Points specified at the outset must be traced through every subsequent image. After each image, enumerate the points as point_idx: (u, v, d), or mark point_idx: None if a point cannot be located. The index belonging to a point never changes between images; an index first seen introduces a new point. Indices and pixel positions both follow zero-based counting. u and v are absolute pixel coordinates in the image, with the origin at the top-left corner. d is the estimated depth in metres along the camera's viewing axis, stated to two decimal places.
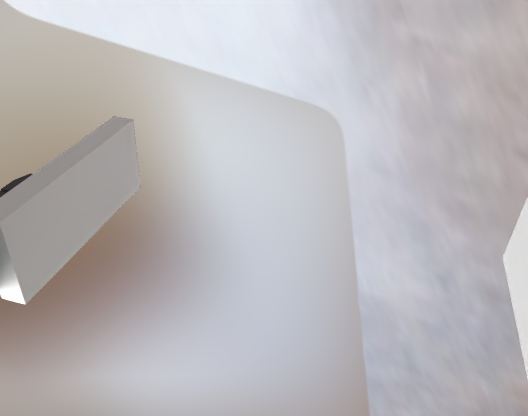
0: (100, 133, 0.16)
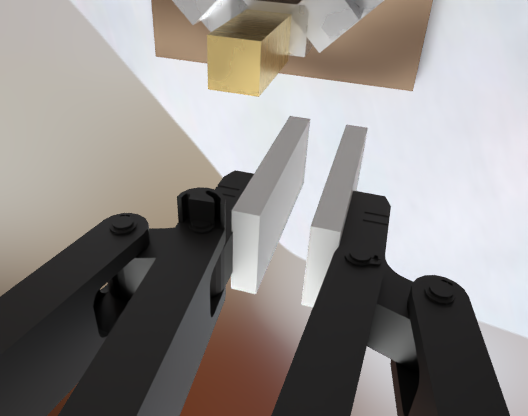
0: (290, 132, 0.16)
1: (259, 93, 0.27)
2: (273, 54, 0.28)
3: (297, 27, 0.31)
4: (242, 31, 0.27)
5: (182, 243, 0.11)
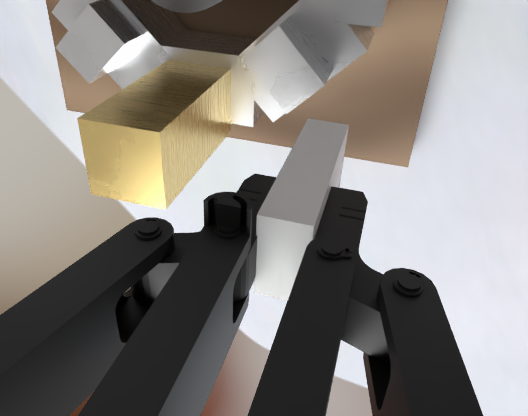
0: (309, 135, 0.16)
1: (167, 204, 0.17)
2: (195, 137, 0.19)
3: (240, 87, 0.22)
4: (139, 108, 0.17)
5: (207, 247, 0.11)
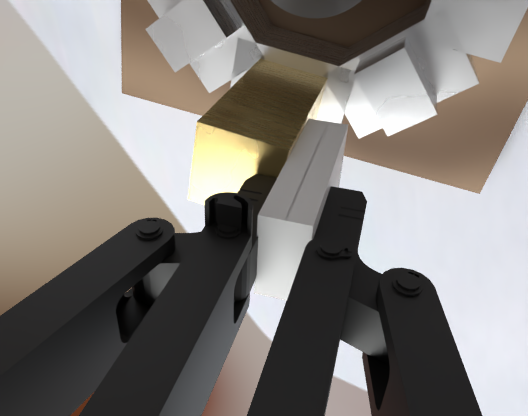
0: (310, 135, 0.16)
1: None
2: None
3: (333, 98, 0.21)
4: (256, 117, 0.16)
5: (208, 248, 0.11)
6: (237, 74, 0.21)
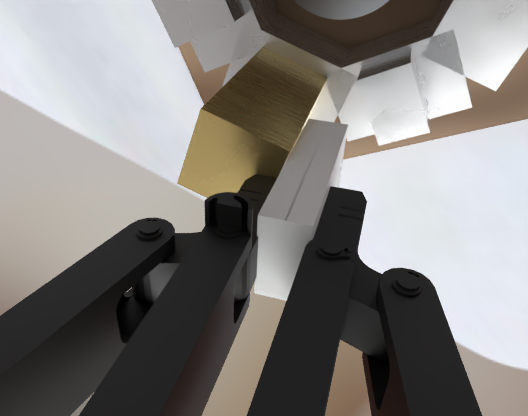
0: (309, 135, 0.16)
1: None
2: None
3: (329, 98, 0.21)
4: (259, 111, 0.16)
5: (208, 248, 0.11)
6: (237, 58, 0.21)
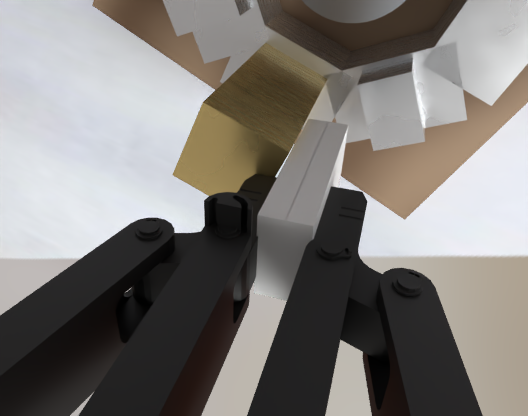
0: (309, 135, 0.16)
1: None
2: None
3: (327, 99, 0.21)
4: (260, 109, 0.16)
5: (207, 248, 0.11)
6: (238, 52, 0.21)
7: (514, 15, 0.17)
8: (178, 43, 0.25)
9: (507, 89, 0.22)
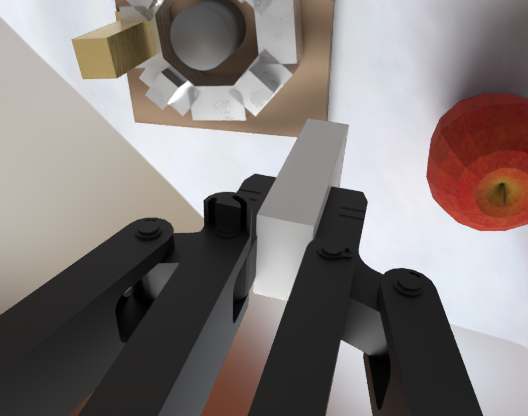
0: (309, 135, 0.16)
1: (85, 78, 0.38)
2: None
3: (149, 60, 0.43)
4: (121, 53, 0.38)
5: (207, 247, 0.11)
6: (136, 8, 0.41)
7: (221, 104, 0.44)
8: None
9: None
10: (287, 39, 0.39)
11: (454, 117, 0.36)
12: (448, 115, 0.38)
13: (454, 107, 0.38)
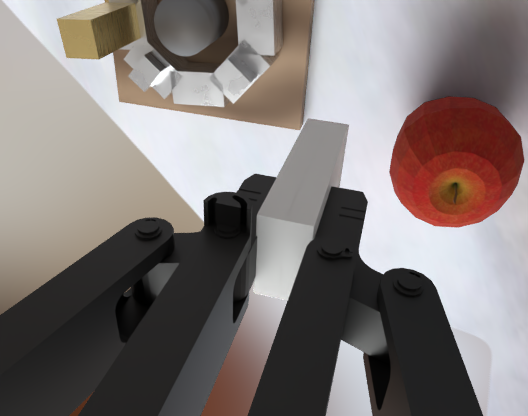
0: (309, 135, 0.16)
1: (69, 57, 0.40)
2: None
3: (134, 42, 0.45)
4: (105, 35, 0.39)
5: (207, 247, 0.11)
6: None
7: (201, 90, 0.45)
8: None
9: None
10: (266, 31, 0.41)
11: (417, 117, 0.38)
12: (413, 115, 0.40)
13: (419, 107, 0.40)
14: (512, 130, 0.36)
